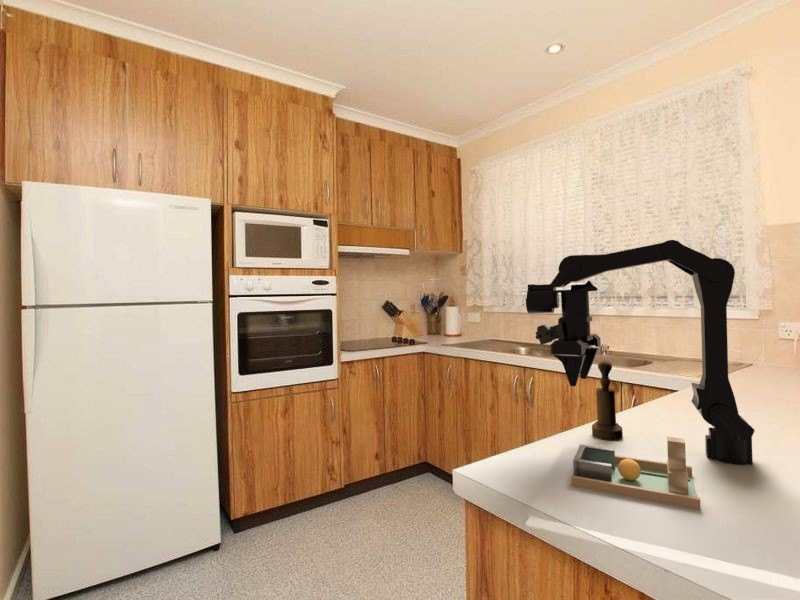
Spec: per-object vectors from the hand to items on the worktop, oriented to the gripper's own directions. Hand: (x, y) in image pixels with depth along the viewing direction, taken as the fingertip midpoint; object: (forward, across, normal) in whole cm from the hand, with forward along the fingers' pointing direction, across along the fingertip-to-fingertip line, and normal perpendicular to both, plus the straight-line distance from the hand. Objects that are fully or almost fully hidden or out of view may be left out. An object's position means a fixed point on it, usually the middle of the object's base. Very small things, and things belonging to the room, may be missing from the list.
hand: (578, 382), depth 93 cm
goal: (+13, +16, +6) cm, 22 cm away
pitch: (+14, +16, +12) cm, 25 cm away
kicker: (+13, +15, +19) cm, 27 cm away
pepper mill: (+14, -10, +3) cm, 18 cm away
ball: (+12, +16, +12) cm, 23 cm away
